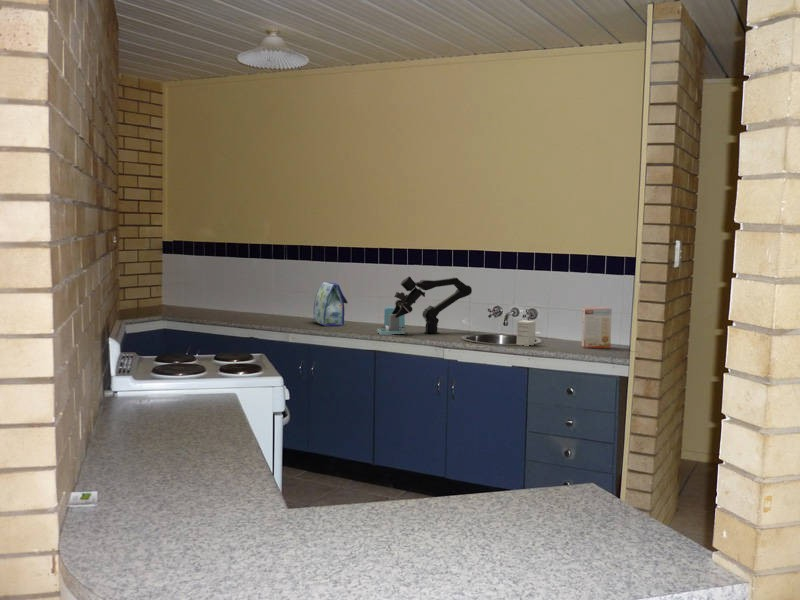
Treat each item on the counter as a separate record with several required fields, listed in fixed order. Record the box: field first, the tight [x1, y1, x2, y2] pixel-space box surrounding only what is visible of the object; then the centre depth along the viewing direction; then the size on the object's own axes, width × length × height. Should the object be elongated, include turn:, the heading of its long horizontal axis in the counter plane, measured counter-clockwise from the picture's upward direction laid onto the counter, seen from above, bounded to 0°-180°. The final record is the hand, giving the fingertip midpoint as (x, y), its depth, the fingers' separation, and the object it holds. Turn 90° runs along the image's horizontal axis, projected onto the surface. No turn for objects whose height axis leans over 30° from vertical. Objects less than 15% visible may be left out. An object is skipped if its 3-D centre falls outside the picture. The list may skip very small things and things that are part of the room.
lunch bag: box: [313, 281, 348, 327], centre depth 492 cm, size 22×17×26 cm
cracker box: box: [581, 306, 612, 349], centre depth 413 cm, size 14×6×21 cm, turn 92°
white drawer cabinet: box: [516, 319, 536, 347], centre depth 418 cm, size 7×7×13 cm
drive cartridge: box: [389, 314, 400, 331], centre depth 452 cm, size 5×5×10 cm
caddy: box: [376, 326, 406, 336], centre depth 452 cm, size 14×11×4 cm
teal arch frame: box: [383, 306, 406, 328], centre depth 483 cm, size 12×4×12 cm, turn 96°
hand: (393, 316), depth 452 cm, fingers open, 9 cm apart
